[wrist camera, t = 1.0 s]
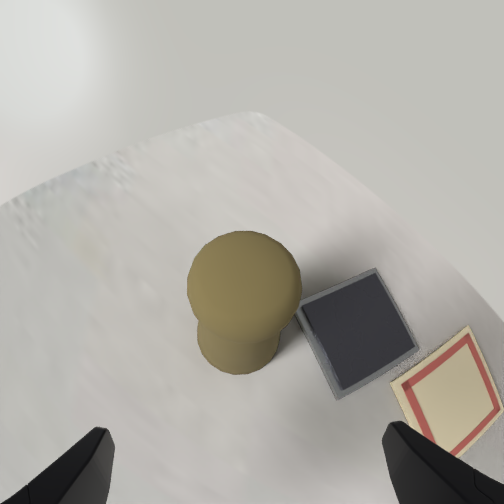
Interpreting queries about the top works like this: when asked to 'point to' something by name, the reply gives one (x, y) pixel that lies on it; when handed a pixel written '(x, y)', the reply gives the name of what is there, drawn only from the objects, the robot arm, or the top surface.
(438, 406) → the print card
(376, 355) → the ink pad
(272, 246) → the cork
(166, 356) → the top surface
